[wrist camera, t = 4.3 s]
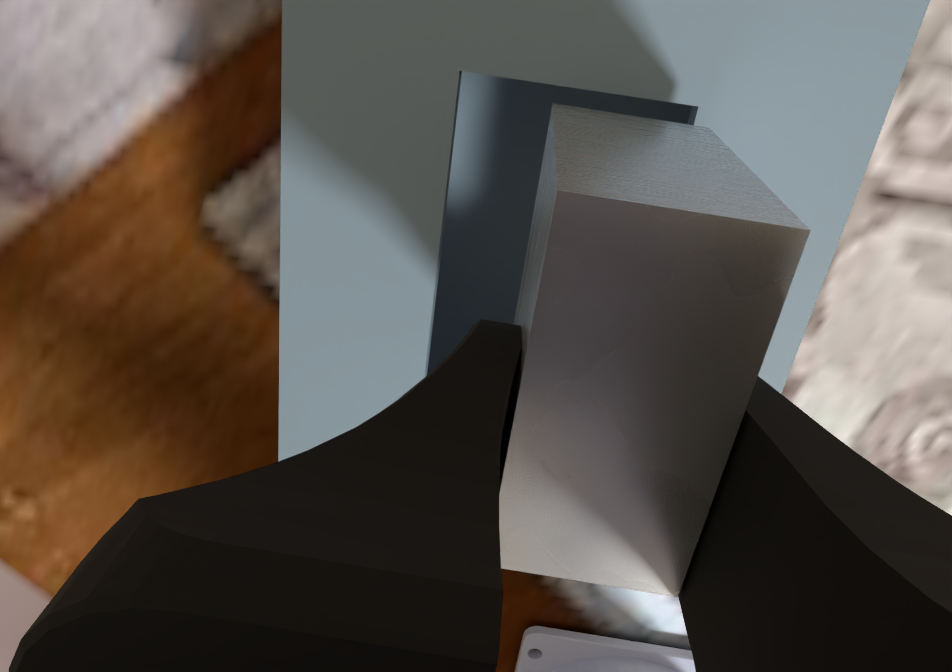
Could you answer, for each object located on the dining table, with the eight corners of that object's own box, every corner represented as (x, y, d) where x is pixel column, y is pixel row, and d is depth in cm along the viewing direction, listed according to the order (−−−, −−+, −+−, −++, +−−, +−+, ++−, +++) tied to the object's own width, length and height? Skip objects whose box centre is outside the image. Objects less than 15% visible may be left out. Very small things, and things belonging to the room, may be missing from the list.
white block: (635, 394, 14) (678, 597, 9) (504, 373, 14) (486, 566, 10) (709, 127, 12) (811, 230, 7) (552, 102, 12) (557, 191, 7)
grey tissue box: (674, 421, 22) (715, 568, 17) (342, 369, 22) (278, 499, 17) (809, -24, 16) (936, -17, 11) (367, -89, 17) (282, -112, 11)
